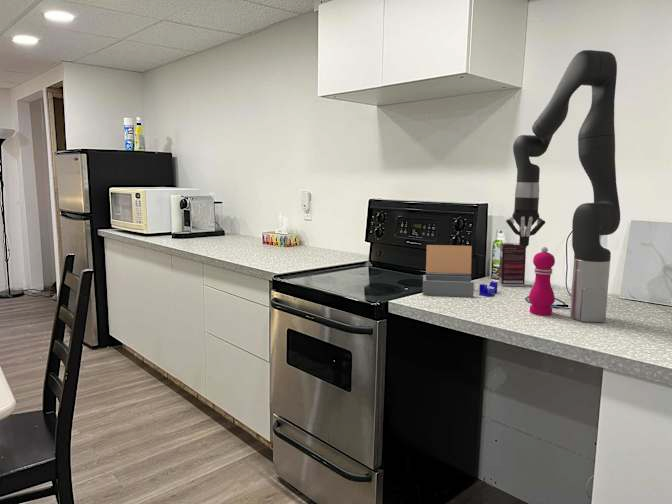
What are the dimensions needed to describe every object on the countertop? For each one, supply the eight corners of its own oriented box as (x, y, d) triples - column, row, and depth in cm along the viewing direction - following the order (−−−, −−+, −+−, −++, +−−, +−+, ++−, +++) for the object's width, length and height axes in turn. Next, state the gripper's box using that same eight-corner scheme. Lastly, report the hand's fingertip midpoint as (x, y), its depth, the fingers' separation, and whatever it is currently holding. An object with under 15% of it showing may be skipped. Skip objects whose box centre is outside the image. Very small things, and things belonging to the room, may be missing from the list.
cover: (471, 245, 182) (471, 245, 183) (426, 244, 185) (426, 244, 185) (471, 275, 182) (470, 275, 182) (425, 274, 184) (425, 274, 185)
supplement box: (521, 284, 193) (523, 242, 191) (524, 286, 188) (526, 244, 186) (497, 283, 194) (499, 242, 192) (500, 286, 189) (502, 244, 187)
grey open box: (473, 296, 172) (473, 282, 171) (422, 295, 175) (423, 280, 174) (470, 290, 183) (470, 276, 182) (422, 288, 185) (423, 274, 185)
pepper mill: (538, 316, 147) (542, 249, 145) (522, 310, 154) (526, 245, 151) (559, 315, 149) (563, 248, 146) (543, 309, 156) (547, 245, 153)
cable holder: (488, 297, 172) (488, 285, 172) (479, 295, 175) (479, 284, 174) (500, 294, 177) (501, 282, 177) (492, 292, 180) (492, 281, 179)
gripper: (508, 196, 166) (505, 248, 169) (550, 196, 164) (546, 249, 167) (504, 195, 174) (501, 245, 176) (545, 195, 172) (541, 246, 174)
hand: (523, 247), depth 172 cm, fingers closed
